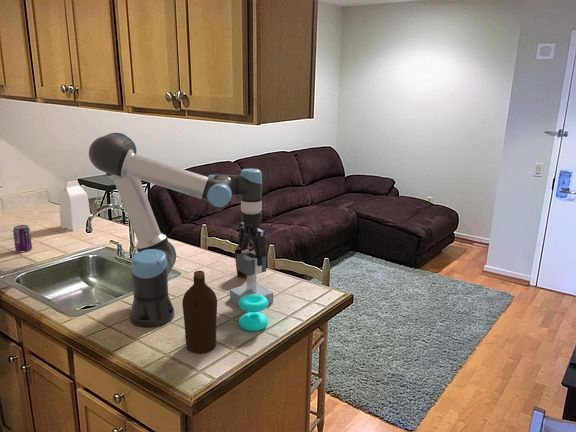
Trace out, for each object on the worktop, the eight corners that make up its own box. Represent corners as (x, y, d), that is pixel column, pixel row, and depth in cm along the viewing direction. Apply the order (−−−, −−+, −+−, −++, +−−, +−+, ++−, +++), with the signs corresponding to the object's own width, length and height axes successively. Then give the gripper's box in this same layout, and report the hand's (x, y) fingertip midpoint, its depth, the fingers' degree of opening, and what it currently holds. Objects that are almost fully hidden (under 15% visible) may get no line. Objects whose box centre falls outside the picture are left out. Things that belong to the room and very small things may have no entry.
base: (246, 310, 177) (246, 300, 176) (229, 298, 187) (229, 289, 185) (273, 302, 185) (273, 292, 183) (255, 291, 194) (255, 282, 193)
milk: (73, 231, 263) (68, 184, 256) (60, 227, 269) (55, 181, 262) (92, 226, 273) (88, 181, 266) (79, 222, 279) (75, 178, 272)
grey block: (266, 271, 181) (266, 256, 180) (248, 276, 177) (248, 260, 175) (254, 264, 187) (254, 250, 186) (236, 269, 183) (236, 254, 181)
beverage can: (33, 251, 232) (30, 227, 229) (16, 253, 228) (13, 229, 225) (31, 247, 238) (28, 223, 235) (15, 249, 234) (11, 225, 231)
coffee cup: (251, 280, 204) (251, 251, 200) (232, 278, 205) (231, 249, 202) (256, 273, 212) (256, 245, 209) (238, 271, 214) (238, 243, 210)
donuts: (243, 291, 170) (270, 294, 168) (243, 317, 172) (270, 320, 171) (235, 303, 160) (264, 306, 159) (235, 330, 163) (264, 334, 161)
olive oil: (222, 349, 151) (221, 275, 145) (189, 358, 146) (187, 281, 140) (211, 334, 160) (209, 263, 154) (180, 341, 155) (176, 269, 149)
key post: (252, 293, 182) (252, 271, 180) (246, 289, 186) (246, 267, 183) (256, 292, 183) (256, 270, 181) (250, 288, 187) (250, 266, 184)
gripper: (276, 216, 170) (276, 276, 176) (244, 204, 186) (245, 259, 192) (259, 219, 166) (259, 281, 172) (227, 206, 182) (228, 263, 188)
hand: (251, 269), depth 182 cm, fingers closed on grey block, 8 cm apart
